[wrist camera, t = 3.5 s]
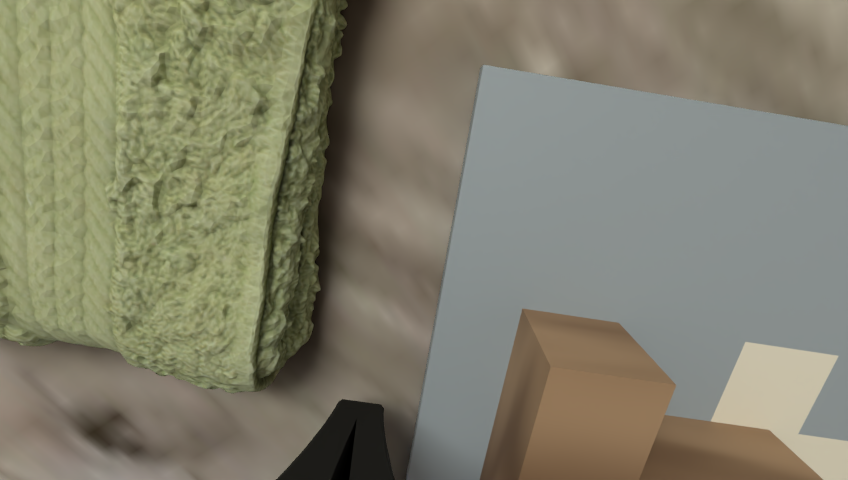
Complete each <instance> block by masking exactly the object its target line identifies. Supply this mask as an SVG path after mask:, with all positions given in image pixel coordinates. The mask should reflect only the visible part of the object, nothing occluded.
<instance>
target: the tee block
mask: <svg viewBox="0 0 848 480" xmlns="http://www.w3.org/2000/svg"><path fill="white" fill-rule="evenodd" d="M675 388H676V384H675V383H674V382H673V381H672V380H671V379H670V378H669V376H668V375H667V374H666V373H665V372H664V371H663V370H662V369H661V368H660V367H659V366H658V365H657V363H656V362H655V361H654V360H653V359H652V358H651V357H650V356H649V355H648V354H647V353H646V352H645V350H644V349H643V348H642V347H641V346H640V345H639V344H638V343H637V342H636V341H635V340H634V339H633V338H632V336H631V335H630V334H629V333H628V332H627V331H626V330H625V329H624V328H623V327H622V326H621V325H620V323H617V322H610V321H603V320H597V319H590V318H583V317H577V316H570V315H563V314H557V313H550V312H543V311H537V310H530V309H523V308H522V312H521V316H520V320H519V324H518V328H517V332H516V336H515V340H514V344H513V348H512V352H511V356H510V360H509V364H508V368H507V372H506V376H505V380H504V384H503V388H502V392H501V396H500V400H499V404H498V408H497V412H496V416H495V420H494V424H493V428H492V432H491V436H490V440H489V444H488V448H487V452H486V456H485V460H484V464H483V468H482V472H481V476H480V480H823V479H822V478H821V477H820V476H819V475H818V474H817V473H816V472H814V471H813V470H812V469H811V468H810V467H809V466H808V465H807V464H806V463H805V462H804V461H802V460H801V459H800V458H799V457H798V456H797V455H796V454H795V453H794V452H793V451H792V450H791V449H789V448H788V447H787V446H786V445H785V444H784V443H783V442H782V441H781V440H780V439H779V438H777V437H776V436H775V435H774V434H773V433H772V432H771V431H770V430H767V429H760V428H753V427H746V426H739V425H732V424H725V423H718V422H711V421H704V420H697V419H690V418H683V417H676V416H669V415H665V413H666V410H667V408H668V405H669V403H670V400H671V398H672V395H673V393H674V390H675Z"/></svg>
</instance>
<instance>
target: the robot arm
mask: <svg viewBox="0 0 848 480" xmlns="http://www.w3.org/2000/svg"><path fill="white" fill-rule="evenodd" d="M276 480H395V478H394V475H393V471H392V467H391V463H390V459H389V454H388V449H387V444H386V438H385V431H384V408H383V407H382V405H379V404H372V403H365V402H358V401H351V400H343V399H342V400H341V401H339V402H338V404H337V405H336V407H335V409H334V410H333V412H332V414H331V415H330V417H329V418H328V419H327V421H326V422H325V424H324V425H323V426H322V428H321V429H320V430H319V432H318V433H317V434H316V435H315V437H314V438H313V439H312V440H311V442H310V443H309V444H308V445H307V447H306V448H305V449H304V450H303V451H302V452H301V454H300V455H299V456H298V457H297V458H296V459H295V460H294V461H293V462H292V464H291V465H290V466H289V467H288V468H287V469H286V470H285V471H284V472H283V473H282V474H281V475H280V476H279V477H278V478H277V479H276Z"/></svg>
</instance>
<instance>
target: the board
mask: <svg viewBox="0 0 848 480" xmlns="http://www.w3.org/2000/svg"><path fill="white" fill-rule="evenodd" d="M522 308H523V309H530V310H537V311H543V312H550V313H557V314H563V315H570V316H577V317H583V318H590V319H597V320H603V321H610V322H617V323H620V325H621V326H622V327H623V328H624V329H625V330H626V331H627V332H628V333H629V334H630V335H631V336H632V338H633V339H634V340H635V341H636V342H637V343H638V344H639V345H640V346H641V347H642V348H643V349H644V350H645V352H646V353H647V354H648V355H649V356H650V357H651V358H652V359H653V360H654V361H655V362H656V363H657V365H658V366H659V367H660V368H661V369H662V370H663V371H664V372H665V373H666V374H667V375H668V376H669V378H670V379H671V380H672V381H673V382H674V383H675V384H676V388H675V390H674V393H673V395H672V398H671V400H670V403H669V405H668V408H667V410H666V413H665V415H669V416H676V417H683V418H690V419H697V420H704V421H711V422H718V423H725V424H732V425H739V426H746V427H753V428H760V429H767V430H770V431H771V432H772V433H773V434H774V435H775V436H776V437H777V438H779V439H780V440H781V441H782V442H783V443H784V444H785V445H786V446H787V447H788V448H789V449H791V450H792V451H793V452H794V453H795V454H796V455H797V456H798V457H799V458H800V459H801V460H802V461H804V462H805V463H806V464H807V465H808V466H809V467H810V468H811V469H812V470H813V471H814V472H816V473H817V474H818V475H819V476H820V477H821V478H822V479H823V480H848V126H845V125H839V124H833V123H827V122H821V121H815V120H809V119H803V118H797V117H791V116H785V115H779V114H773V113H767V112H762V111H756V110H750V109H744V108H738V107H732V106H726V105H720V104H714V103H708V102H702V101H696V100H690V99H684V98H678V97H672V96H666V95H660V94H654V93H648V92H642V91H636V90H630V89H624V88H619V87H613V86H607V85H601V84H595V83H589V82H583V81H577V80H571V79H565V78H559V77H553V76H547V75H541V74H535V73H529V72H523V71H517V70H511V69H505V68H499V67H493V66H487V65H483V66H482V67H481V68H480V73H479V79H478V84H477V90H476V95H475V101H474V106H473V112H472V117H471V123H470V128H469V134H468V139H467V145H466V150H465V156H464V161H463V167H462V172H461V178H460V183H459V189H458V194H457V200H456V205H455V211H454V216H453V222H452V227H451V233H450V238H449V244H448V249H447V255H446V260H445V266H444V271H443V277H442V282H441V288H440V293H439V299H438V304H437V310H436V315H435V321H434V326H433V332H432V337H431V342H430V348H429V353H428V359H427V364H426V370H425V375H424V381H423V386H422V392H421V397H420V403H419V408H418V414H417V419H416V425H415V430H414V436H413V441H412V447H411V452H410V458H409V463H408V469H407V474H406V480H480V476H481V472H482V468H483V464H484V460H485V456H486V452H487V448H488V444H489V440H490V436H491V432H492V428H493V424H494V420H495V416H496V412H497V408H498V404H499V400H500V396H501V392H502V388H503V384H504V380H505V376H506V372H507V368H508V364H509V360H510V356H511V352H512V348H513V344H514V340H515V336H516V332H517V328H518V324H519V320H520V316H521V312H522Z"/></svg>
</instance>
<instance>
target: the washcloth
mask: <svg viewBox="0 0 848 480" xmlns="http://www.w3.org/2000/svg"><path fill="white" fill-rule="evenodd" d="M347 7H348V4H347V2H346V0H0V338H4V339H7V340H10V341H17V342H18V343H19V344H20V345H25V346H43V345H47V344H50V343H53V342H54V341H63V342H67V343H72V344H83V345H86V346H90V347H97V348H108V349H111V350H113V351H116V352H120V353H121V354H122V355H123V357H124V358H125V359H126V361H127V363H129V364H131V365H132V366H135V367H139V368H140V367H142V368H146V369H147V368H149V369H151V370H152V371H154V372H156V374H158V375H160V376H166V375H173V376H174V377H175V378H176V379H179V380H185V381H188V382H190V383H192V384H194V385H196V386H199V387H202V388H205V389H208V388H210V389H217V388H222V389H224V390H225V391H226V392H228V393H236V392H243V391H249V392H257V391H261V390H263V389H265V388H266V387H268V386H269V385H270V384H271V383H272V382H273V381H274V379H275V377H276V375H277V374H278V373H279V371H280V369H281V368H282V367H283V366H284V365H285V362H286V361H287V359H289V358H290V357H291V356H293V355H295V353H296V352H297V351H298V350H299V348H300V347H301V346H302V345H304V344H305V343H306V342H307V341H308V340H309V338H310V336H311V333H312V330H313V325H314V324H313V323H312V322H311V316H312V311H313V310H314V306H313V302H314V301H315V295H316V293H317V291H320V284H319V278H318V269H319V267H318V266H317V265H316V264H315V259H316V258H317V257H318V255H319V249H318V248H319V244H318V242H319V232H318V205H319V201H320V199H321V191H322V185H323V182H324V170H325V167H326V163H327V160H326V159H325V157H324V154H325V149H326V148H327V147H328V146H329V136H328V129H327V124H326V119H327V113H328V109H329V106H331V105H332V103H333V102H332V99H331V89H330V86H331V84H332V82H333V81H334V59H335V58H338V57H339V56H341V55H342V46H341V42H340V40H341V38H342V37H343V33H342V31H340V30H342V29H344V28H345V27H346V26H347V23H346V20H345V19H344V17H343V16H342V15H341V14H340V11H341V10H343V9H346V8H347Z"/></svg>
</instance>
